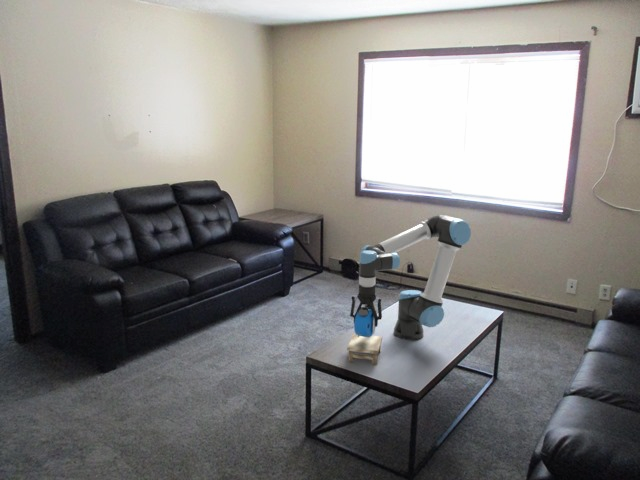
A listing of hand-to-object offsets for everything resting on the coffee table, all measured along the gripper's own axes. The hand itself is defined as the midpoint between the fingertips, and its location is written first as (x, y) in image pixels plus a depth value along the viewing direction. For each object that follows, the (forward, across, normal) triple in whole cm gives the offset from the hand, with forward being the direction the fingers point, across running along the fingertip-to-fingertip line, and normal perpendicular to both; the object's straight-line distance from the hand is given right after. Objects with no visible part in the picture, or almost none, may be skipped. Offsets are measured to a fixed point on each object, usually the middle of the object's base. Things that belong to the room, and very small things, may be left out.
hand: (365, 331), depth 249 cm
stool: (+13, 0, 0) cm, 13 cm away
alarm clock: (+2, 0, 0) cm, 2 cm away
